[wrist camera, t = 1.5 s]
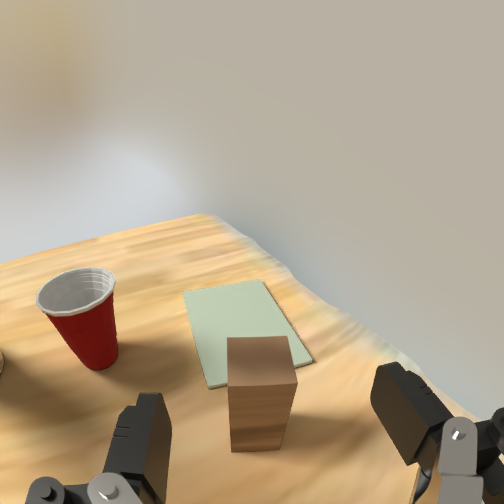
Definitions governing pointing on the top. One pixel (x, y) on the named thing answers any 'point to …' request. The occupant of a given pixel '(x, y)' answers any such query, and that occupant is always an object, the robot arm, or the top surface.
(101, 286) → the plastic cup
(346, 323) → the top surface
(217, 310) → the mat
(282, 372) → the walnut block
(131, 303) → the top surface
